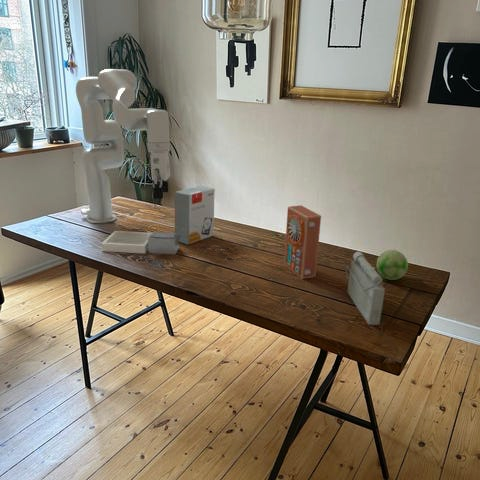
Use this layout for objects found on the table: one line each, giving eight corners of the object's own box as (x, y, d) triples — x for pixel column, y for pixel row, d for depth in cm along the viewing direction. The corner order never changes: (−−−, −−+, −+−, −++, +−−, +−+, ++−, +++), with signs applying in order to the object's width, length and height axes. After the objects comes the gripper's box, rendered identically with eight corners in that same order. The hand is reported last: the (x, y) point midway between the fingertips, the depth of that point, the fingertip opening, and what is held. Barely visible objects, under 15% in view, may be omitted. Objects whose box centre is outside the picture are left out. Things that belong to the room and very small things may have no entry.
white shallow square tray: (102, 251, 167) (101, 243, 166) (115, 238, 180) (114, 230, 179) (144, 253, 166) (144, 245, 165) (154, 240, 179) (154, 233, 178)
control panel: (301, 281, 148) (280, 263, 160) (320, 278, 150) (297, 261, 163) (307, 218, 140) (283, 205, 153) (326, 216, 143) (301, 203, 156)
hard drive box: (188, 245, 175) (187, 195, 168) (174, 241, 179) (173, 191, 172) (214, 235, 186) (214, 188, 179) (200, 231, 191) (200, 184, 184)
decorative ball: (371, 280, 150) (375, 252, 146) (379, 270, 158) (383, 243, 154) (401, 288, 145) (406, 259, 142) (408, 277, 153) (413, 249, 150)
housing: (148, 253, 167) (147, 236, 165) (152, 247, 172) (152, 231, 170) (175, 254, 166) (174, 238, 164) (178, 248, 172) (178, 232, 169)
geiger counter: (391, 278, 118) (360, 244, 142) (367, 278, 118) (340, 244, 141) (383, 325, 123) (354, 284, 147) (360, 325, 123) (335, 284, 146)
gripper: (164, 150, 149) (167, 201, 155) (174, 143, 165) (175, 189, 171) (142, 150, 149) (145, 201, 155) (153, 143, 165) (156, 189, 171)
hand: (161, 195), depth 163 cm, fingers open, 9 cm apart
